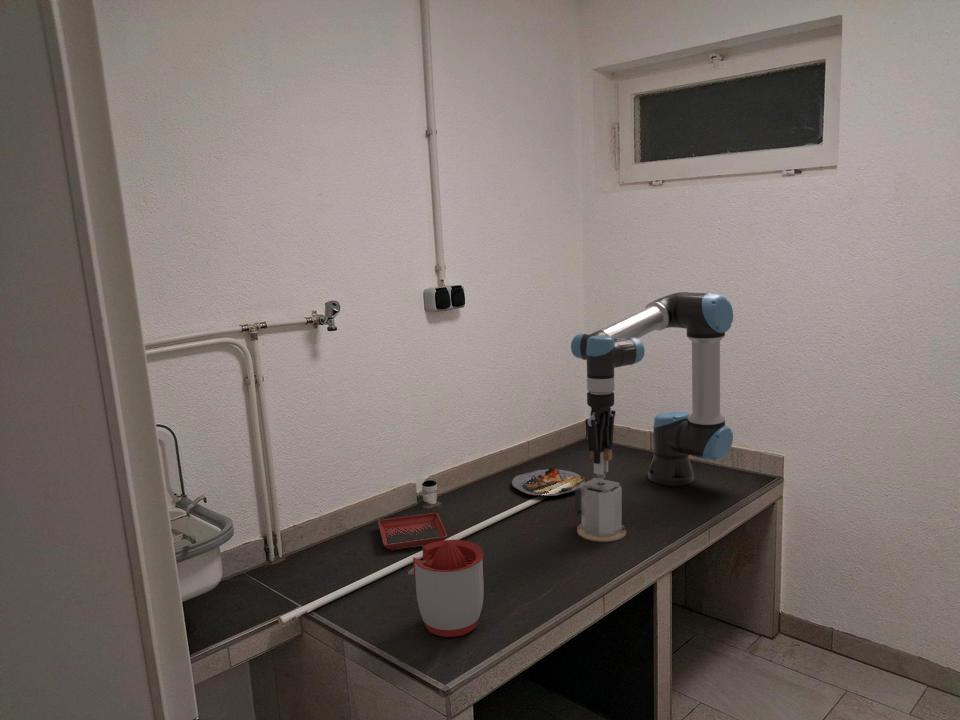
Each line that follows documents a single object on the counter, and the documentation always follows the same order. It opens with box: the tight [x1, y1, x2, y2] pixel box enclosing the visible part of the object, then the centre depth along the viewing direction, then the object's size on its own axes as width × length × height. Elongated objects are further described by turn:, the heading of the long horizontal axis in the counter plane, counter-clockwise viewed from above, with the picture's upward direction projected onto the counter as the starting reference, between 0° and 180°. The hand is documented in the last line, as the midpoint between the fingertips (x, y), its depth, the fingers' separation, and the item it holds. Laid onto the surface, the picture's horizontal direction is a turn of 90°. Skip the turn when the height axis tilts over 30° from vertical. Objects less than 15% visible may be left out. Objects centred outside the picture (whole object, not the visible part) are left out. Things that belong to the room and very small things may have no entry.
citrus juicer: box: [407, 539, 485, 638], centre depth 163 cm, size 16×17×20 cm
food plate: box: [511, 467, 587, 497], centre depth 248 cm, size 25×23×4 cm
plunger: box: [589, 447, 613, 492], centre depth 208 cm, size 7×7×19 cm
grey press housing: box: [574, 477, 627, 543], centre depth 210 cm, size 14×15×15 cm
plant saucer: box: [377, 512, 448, 550], centre depth 212 cm, size 18×18×3 cm
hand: (601, 472), depth 208 cm, fingers closed on plunger, 2 cm apart
